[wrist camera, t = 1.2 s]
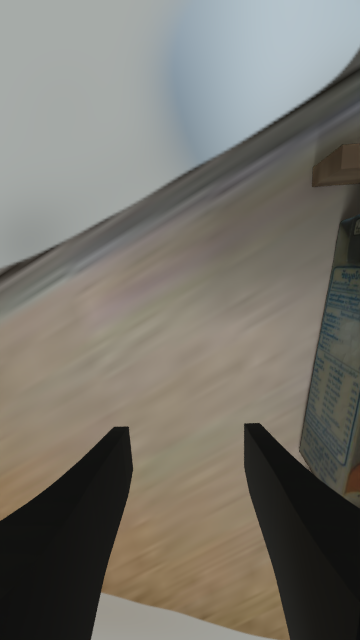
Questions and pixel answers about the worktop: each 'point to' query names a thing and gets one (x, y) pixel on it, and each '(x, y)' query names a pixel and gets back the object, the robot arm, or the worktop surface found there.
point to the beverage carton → (338, 376)
